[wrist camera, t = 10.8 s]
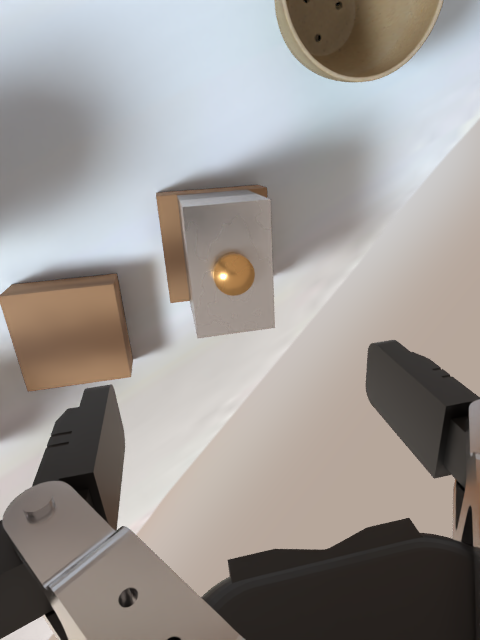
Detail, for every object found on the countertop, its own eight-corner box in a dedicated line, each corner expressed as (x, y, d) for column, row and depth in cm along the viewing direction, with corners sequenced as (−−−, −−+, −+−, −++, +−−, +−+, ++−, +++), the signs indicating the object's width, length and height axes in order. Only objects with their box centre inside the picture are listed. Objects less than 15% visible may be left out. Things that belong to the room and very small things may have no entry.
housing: (176, 195, 28) (183, 208, 21) (246, 189, 29) (274, 200, 22) (189, 301, 32) (198, 343, 24) (251, 293, 32) (278, 332, 25)
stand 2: (156, 192, 31) (156, 196, 28) (257, 184, 32) (266, 187, 29) (169, 291, 34) (170, 302, 31) (261, 280, 35) (270, 291, 32)
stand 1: (12, 284, 31) (-2, 296, 29) (116, 273, 33) (113, 284, 30) (38, 372, 35) (27, 391, 32) (132, 360, 36) (130, 376, 33)
